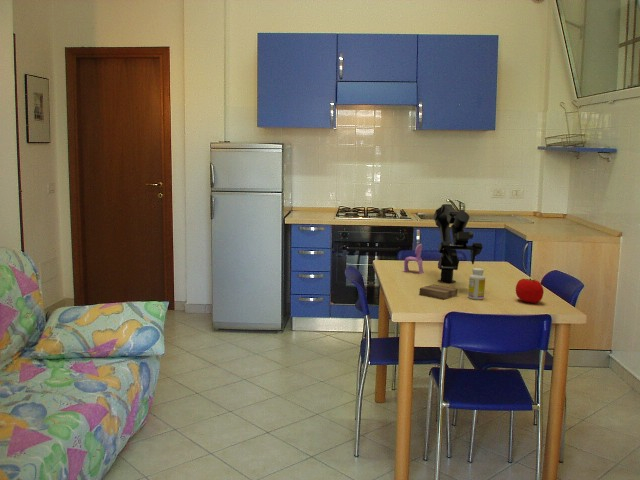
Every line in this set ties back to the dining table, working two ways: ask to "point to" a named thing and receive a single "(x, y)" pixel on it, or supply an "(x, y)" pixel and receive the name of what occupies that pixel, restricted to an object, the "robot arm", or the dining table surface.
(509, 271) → the dining table surface
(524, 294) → the tomato
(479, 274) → the supplement bottle
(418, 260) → the toy chair
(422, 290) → the base
